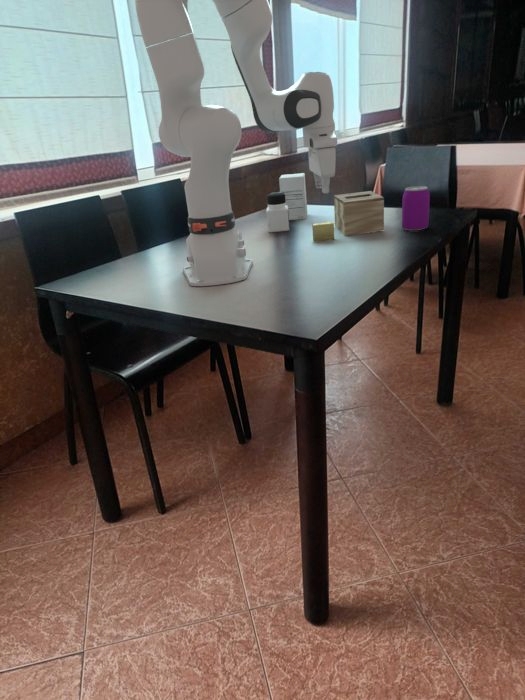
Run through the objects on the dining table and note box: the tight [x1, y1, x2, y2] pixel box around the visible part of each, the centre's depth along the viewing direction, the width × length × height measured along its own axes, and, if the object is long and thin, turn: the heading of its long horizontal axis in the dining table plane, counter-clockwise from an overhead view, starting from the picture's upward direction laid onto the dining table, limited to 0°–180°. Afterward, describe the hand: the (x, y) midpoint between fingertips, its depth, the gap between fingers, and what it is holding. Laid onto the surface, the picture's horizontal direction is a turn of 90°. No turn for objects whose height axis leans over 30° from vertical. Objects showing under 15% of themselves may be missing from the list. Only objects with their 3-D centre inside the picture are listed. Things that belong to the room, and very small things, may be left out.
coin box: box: [333, 190, 385, 237], centre depth 154 cm, size 14×12×10 cm
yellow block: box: [311, 221, 335, 243], centre depth 147 cm, size 2×6×5 cm, turn 95°
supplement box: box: [278, 172, 308, 221], centre depth 180 cm, size 9×9×15 cm
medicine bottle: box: [266, 191, 291, 233], centre depth 165 cm, size 7×7×12 cm
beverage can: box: [401, 185, 431, 231], centre depth 146 cm, size 8×8×12 cm
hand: (322, 190), depth 142 cm, fingers open, 8 cm apart
